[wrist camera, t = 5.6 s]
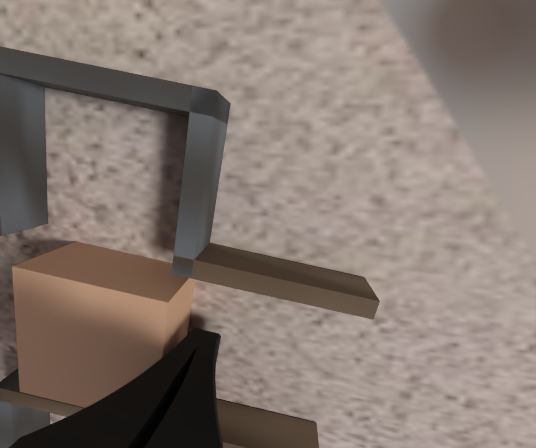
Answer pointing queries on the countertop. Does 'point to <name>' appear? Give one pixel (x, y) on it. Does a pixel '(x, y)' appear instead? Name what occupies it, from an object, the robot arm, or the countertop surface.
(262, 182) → the countertop surface
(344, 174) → the countertop surface
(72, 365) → the light orange-tan block
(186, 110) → the box
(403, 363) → the countertop surface
